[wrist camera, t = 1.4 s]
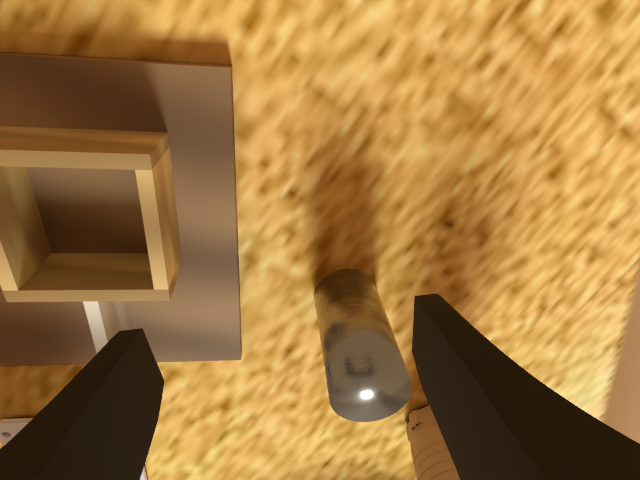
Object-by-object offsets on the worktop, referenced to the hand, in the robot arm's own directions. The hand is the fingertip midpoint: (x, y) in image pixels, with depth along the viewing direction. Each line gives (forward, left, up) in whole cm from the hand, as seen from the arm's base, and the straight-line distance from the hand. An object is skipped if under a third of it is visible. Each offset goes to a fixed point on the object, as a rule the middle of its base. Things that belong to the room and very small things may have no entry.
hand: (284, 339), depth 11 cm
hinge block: (-2, +10, -11) cm, 15 cm away
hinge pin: (-6, -4, -11) cm, 13 cm away
